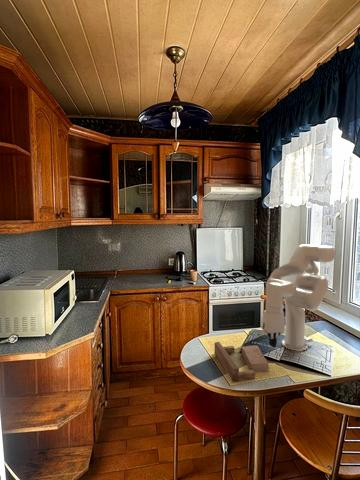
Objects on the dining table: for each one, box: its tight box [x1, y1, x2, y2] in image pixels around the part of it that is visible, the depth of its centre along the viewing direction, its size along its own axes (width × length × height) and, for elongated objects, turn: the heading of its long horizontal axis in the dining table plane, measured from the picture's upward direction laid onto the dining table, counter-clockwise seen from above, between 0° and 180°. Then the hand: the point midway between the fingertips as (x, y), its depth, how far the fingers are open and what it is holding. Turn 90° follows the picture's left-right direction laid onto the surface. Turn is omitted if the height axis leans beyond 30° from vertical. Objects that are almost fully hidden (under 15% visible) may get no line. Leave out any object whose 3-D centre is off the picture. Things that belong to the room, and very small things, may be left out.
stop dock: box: [214, 341, 256, 383], centre depth 125 cm, size 10×24×6 cm, turn 12°
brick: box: [241, 345, 270, 374], centre depth 127 cm, size 17×8×5 cm, turn 3°
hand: (272, 345), depth 128 cm, fingers closed
